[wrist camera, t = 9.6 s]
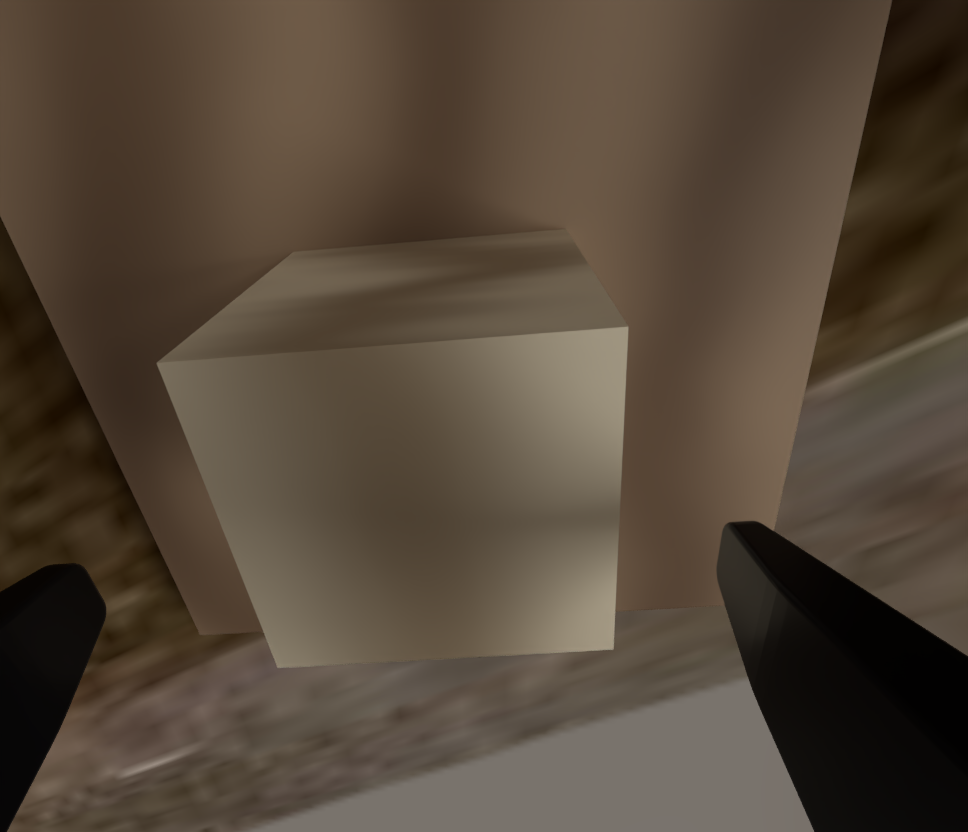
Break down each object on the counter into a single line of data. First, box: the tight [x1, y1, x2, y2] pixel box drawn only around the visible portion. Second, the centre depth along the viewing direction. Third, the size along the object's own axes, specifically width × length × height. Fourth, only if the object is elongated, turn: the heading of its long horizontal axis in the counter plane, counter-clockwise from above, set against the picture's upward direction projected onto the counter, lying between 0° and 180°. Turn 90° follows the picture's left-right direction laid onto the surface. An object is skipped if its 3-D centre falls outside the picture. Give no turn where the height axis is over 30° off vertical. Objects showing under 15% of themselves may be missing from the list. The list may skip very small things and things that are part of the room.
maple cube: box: [157, 229, 628, 668], centre depth 11 cm, size 6×6×6 cm
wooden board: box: [0, 0, 892, 635], centre depth 14 cm, size 18×18×2 cm
